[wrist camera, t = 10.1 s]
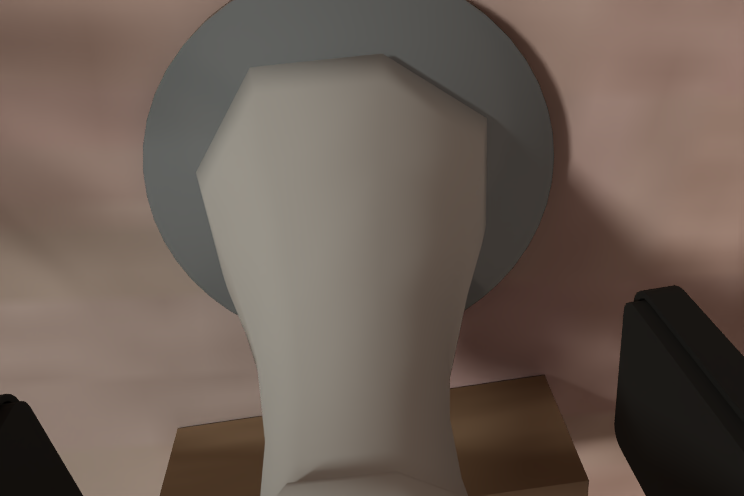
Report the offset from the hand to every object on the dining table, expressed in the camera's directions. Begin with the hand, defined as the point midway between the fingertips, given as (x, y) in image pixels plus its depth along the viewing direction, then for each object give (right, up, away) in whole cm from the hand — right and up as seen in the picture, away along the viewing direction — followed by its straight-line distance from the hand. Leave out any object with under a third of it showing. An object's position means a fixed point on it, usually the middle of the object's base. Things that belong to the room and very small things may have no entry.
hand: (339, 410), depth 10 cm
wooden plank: (0, -3, +10) cm, 11 cm away
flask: (0, +4, +6) cm, 7 cm away
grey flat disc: (0, +4, +6) cm, 7 cm away
